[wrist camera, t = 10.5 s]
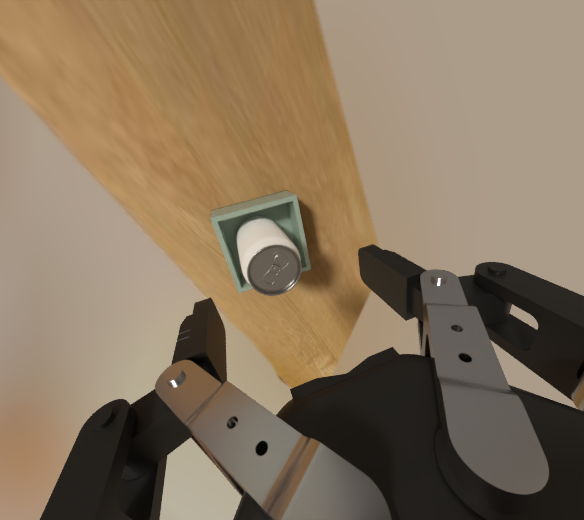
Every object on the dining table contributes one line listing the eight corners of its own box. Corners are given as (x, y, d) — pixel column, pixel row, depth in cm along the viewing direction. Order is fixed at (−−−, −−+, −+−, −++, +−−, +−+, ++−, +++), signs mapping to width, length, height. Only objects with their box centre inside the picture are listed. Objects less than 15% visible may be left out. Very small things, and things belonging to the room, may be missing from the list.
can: (287, 227, 35) (317, 256, 24) (267, 264, 36) (286, 307, 26) (248, 207, 32) (262, 229, 22) (228, 247, 34) (231, 287, 23)
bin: (212, 210, 32) (210, 218, 27) (286, 190, 33) (296, 194, 29) (236, 277, 36) (238, 293, 32) (300, 256, 38) (311, 269, 34)
